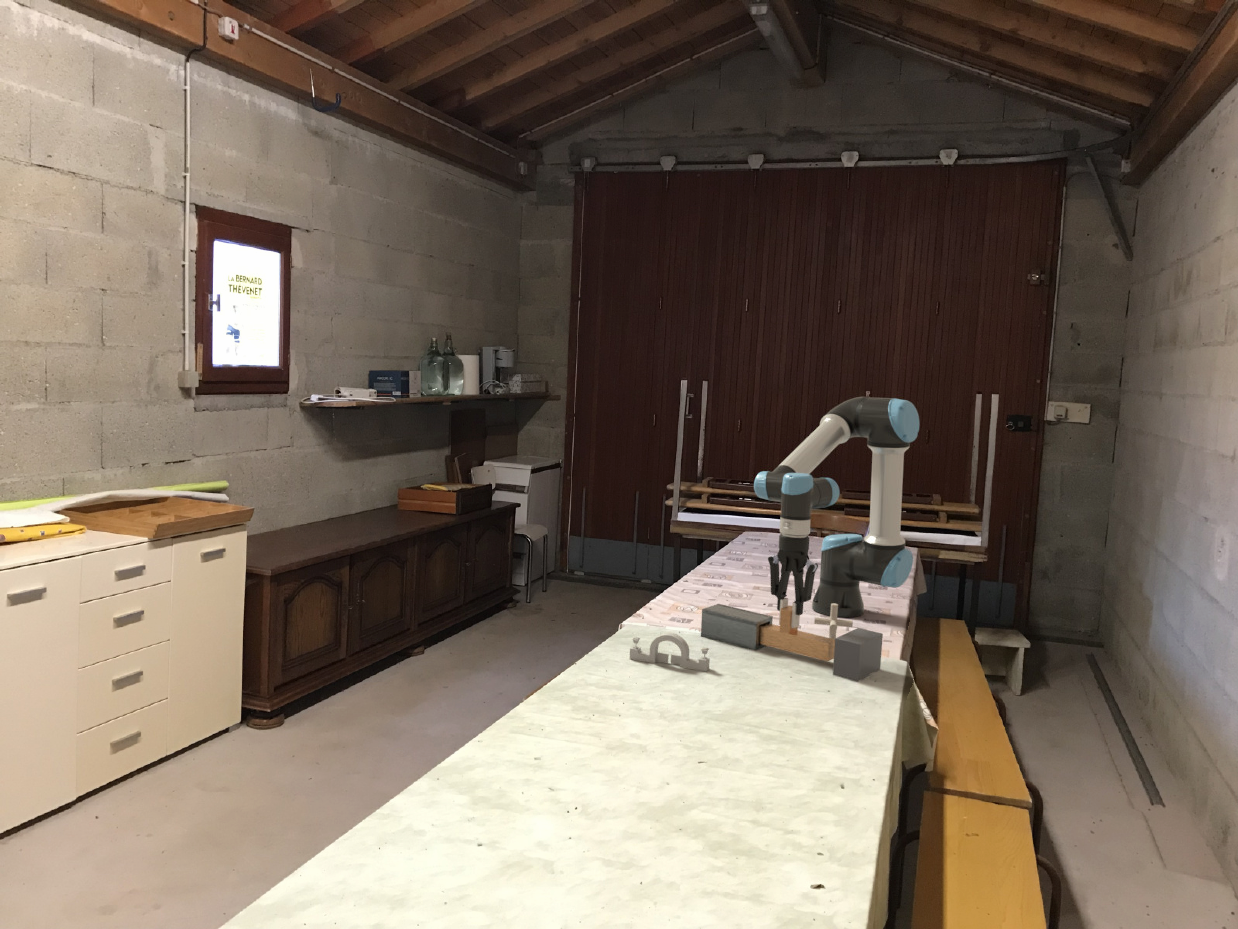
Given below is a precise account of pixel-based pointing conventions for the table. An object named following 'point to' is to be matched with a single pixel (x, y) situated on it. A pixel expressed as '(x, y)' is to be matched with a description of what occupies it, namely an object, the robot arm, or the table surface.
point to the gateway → (675, 659)
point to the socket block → (857, 654)
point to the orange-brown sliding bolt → (795, 638)
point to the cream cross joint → (833, 621)
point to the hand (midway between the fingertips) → (789, 625)
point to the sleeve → (733, 625)
